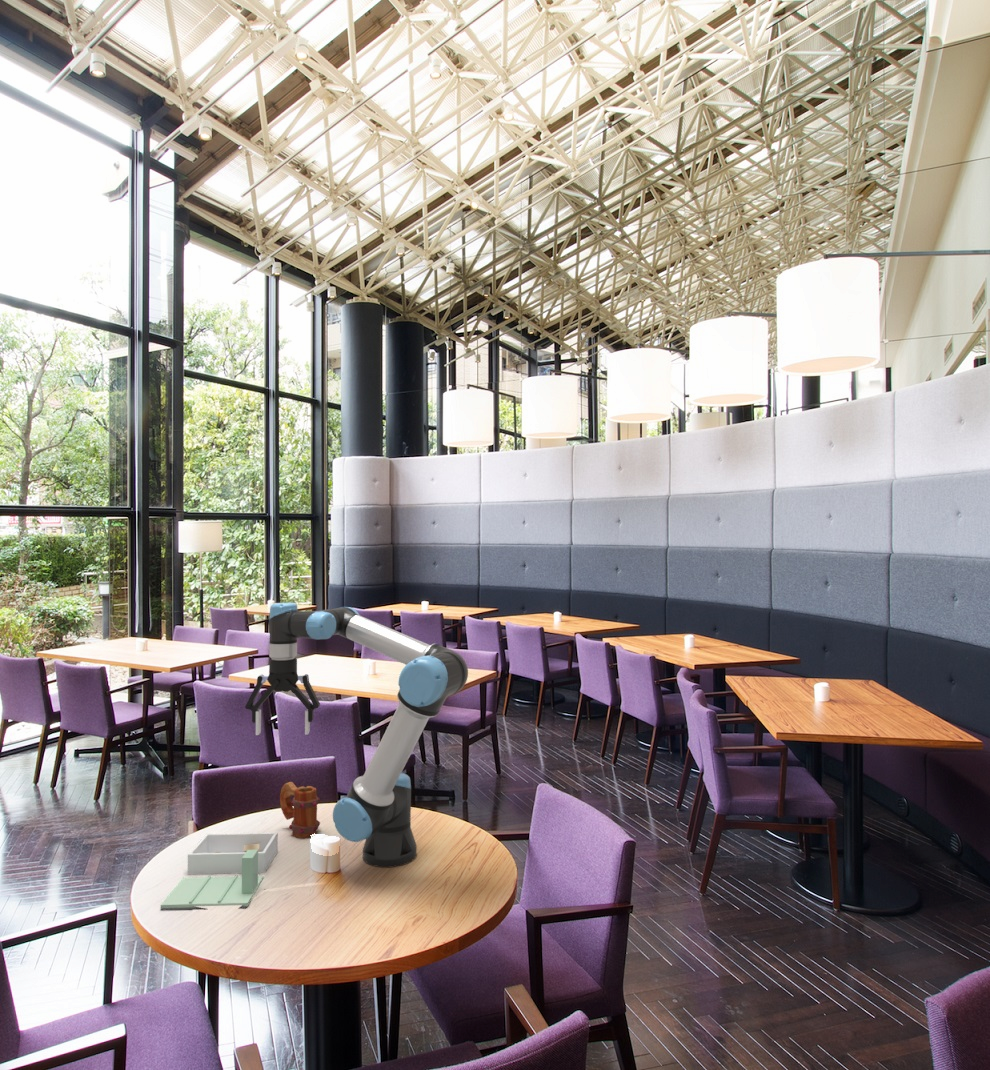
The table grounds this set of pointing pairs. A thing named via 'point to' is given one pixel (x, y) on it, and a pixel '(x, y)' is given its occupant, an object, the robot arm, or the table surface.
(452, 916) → the table surface
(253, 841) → the tub
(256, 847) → the part
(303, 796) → the mug
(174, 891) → the lid
